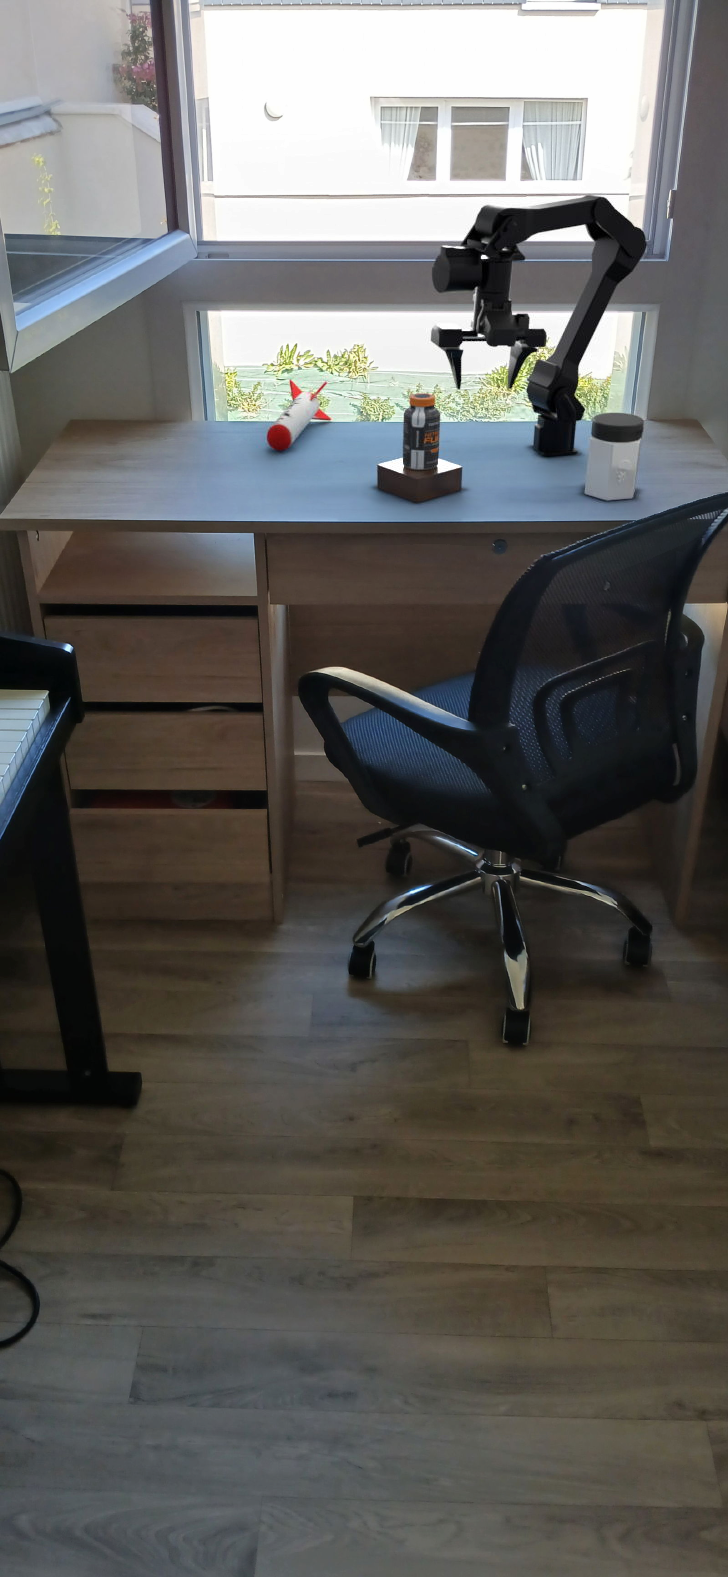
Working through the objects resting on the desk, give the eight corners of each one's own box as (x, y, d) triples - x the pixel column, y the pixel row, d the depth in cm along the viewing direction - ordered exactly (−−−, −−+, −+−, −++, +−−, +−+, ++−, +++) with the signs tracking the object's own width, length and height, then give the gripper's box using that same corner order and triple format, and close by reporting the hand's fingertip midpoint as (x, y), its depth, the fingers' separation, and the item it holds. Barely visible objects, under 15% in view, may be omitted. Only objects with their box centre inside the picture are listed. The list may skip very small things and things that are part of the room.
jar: (594, 502, 186) (602, 427, 180) (575, 486, 193) (582, 413, 187) (645, 498, 188) (655, 423, 182) (625, 482, 195) (633, 410, 188)
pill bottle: (427, 472, 187) (429, 401, 181) (395, 466, 190) (396, 396, 184) (444, 463, 191) (447, 393, 185) (413, 457, 194) (415, 388, 188)
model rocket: (237, 439, 210) (270, 400, 204) (274, 397, 228) (305, 361, 222) (281, 480, 212) (315, 444, 207) (315, 436, 230) (346, 401, 225)
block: (421, 475, 199) (422, 452, 196) (461, 490, 192) (462, 466, 190) (377, 487, 193) (377, 464, 191) (416, 503, 187) (417, 478, 185)
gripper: (451, 298, 181) (444, 400, 189) (563, 298, 184) (551, 399, 192) (433, 286, 190) (426, 384, 198) (540, 287, 193) (529, 383, 202)
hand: (484, 388), depth 197 cm, fingers open, 9 cm apart
